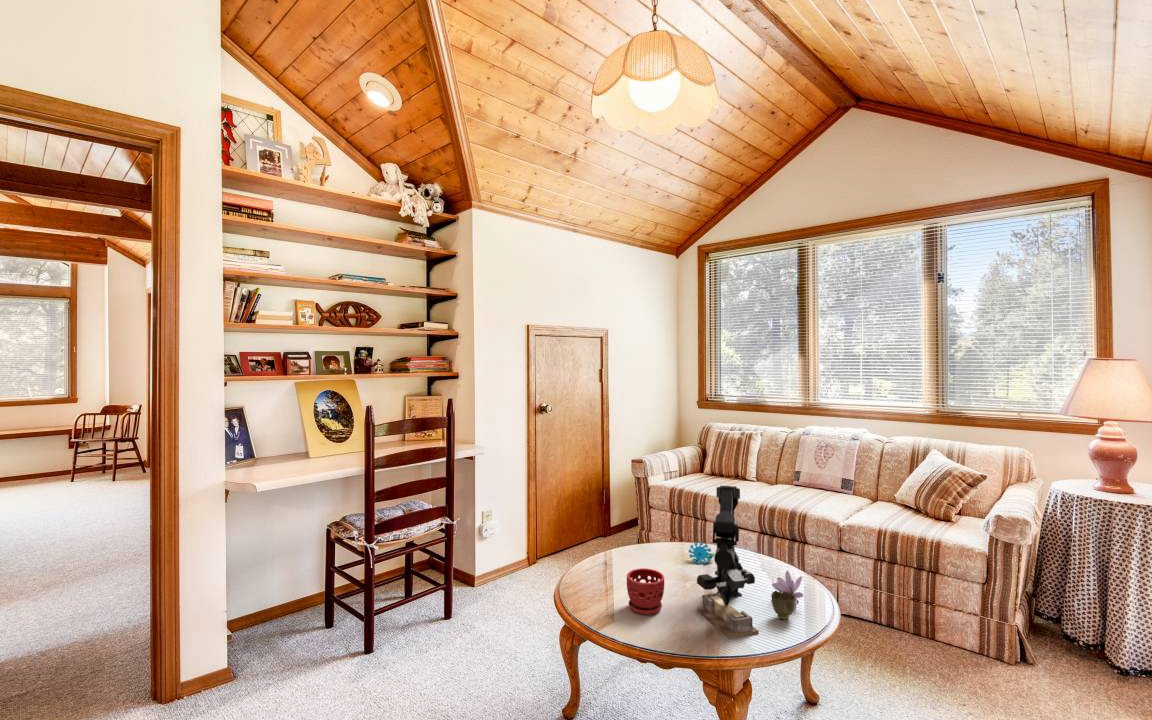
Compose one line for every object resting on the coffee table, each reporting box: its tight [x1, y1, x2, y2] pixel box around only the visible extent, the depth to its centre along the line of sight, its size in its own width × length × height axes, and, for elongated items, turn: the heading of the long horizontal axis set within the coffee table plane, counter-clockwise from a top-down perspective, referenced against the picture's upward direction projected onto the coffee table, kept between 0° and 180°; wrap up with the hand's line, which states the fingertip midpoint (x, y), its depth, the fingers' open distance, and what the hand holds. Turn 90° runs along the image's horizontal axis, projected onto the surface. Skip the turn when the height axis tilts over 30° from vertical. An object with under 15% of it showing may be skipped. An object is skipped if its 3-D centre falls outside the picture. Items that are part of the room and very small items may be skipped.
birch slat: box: [710, 596, 744, 621], centre depth 179 cm, size 16×3×4 cm, turn 16°
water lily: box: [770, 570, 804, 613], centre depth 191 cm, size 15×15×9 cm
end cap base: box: [697, 592, 760, 639], centre depth 179 cm, size 21×10×5 cm, turn 16°
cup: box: [770, 590, 795, 621], centre depth 180 cm, size 8×7×8 cm
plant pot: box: [626, 567, 665, 615], centre depth 188 cm, size 13×13×12 cm
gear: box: [688, 541, 715, 565], centre depth 236 cm, size 11×6×10 cm
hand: (726, 605), depth 179 cm, fingers closed
